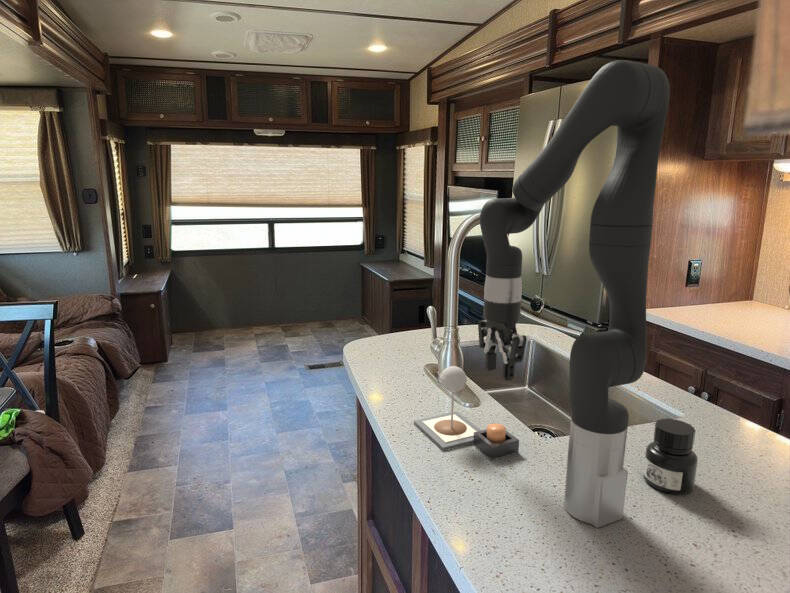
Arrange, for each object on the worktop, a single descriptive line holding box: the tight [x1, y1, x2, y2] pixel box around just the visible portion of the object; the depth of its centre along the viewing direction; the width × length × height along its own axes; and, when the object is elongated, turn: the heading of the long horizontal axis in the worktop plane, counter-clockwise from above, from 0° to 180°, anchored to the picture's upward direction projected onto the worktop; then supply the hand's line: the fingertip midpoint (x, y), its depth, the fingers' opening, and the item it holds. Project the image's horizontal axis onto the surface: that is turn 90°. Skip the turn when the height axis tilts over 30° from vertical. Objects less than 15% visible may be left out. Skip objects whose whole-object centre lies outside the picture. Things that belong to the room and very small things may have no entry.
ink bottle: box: [642, 418, 699, 495], centre depth 103 cm, size 10×9×12 cm
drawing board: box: [413, 411, 482, 452], centre depth 125 cm, size 14×12×1 cm
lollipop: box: [439, 365, 468, 428], centre depth 123 cm, size 6×6×15 cm
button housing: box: [472, 428, 520, 461], centre depth 117 cm, size 7×7×3 cm
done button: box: [486, 423, 507, 444], centre depth 116 cm, size 4×4×3 cm
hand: (499, 374), depth 113 cm, fingers open, 5 cm apart
